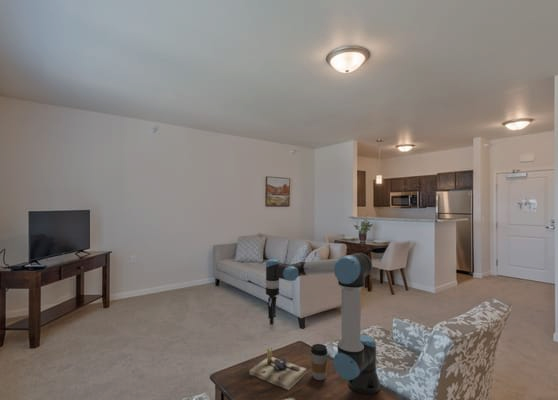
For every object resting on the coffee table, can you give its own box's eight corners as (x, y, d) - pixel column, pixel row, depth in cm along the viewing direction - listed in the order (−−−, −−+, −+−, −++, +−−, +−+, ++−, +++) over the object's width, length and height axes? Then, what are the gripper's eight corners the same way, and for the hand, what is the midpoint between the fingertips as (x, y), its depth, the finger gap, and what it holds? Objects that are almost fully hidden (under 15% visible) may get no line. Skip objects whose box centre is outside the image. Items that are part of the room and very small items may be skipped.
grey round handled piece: (293, 366, 155) (294, 352, 155) (284, 374, 148) (285, 359, 148) (272, 358, 163) (272, 345, 163) (262, 365, 155) (262, 352, 155)
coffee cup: (326, 382, 145) (327, 351, 145) (310, 380, 147) (310, 350, 147) (327, 373, 153) (327, 344, 154) (311, 371, 155) (311, 342, 155)
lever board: (306, 372, 154) (306, 365, 154) (289, 390, 139) (289, 382, 139) (269, 359, 167) (269, 353, 167) (249, 374, 152) (249, 367, 152)
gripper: (268, 283, 173) (268, 324, 172) (263, 289, 160) (262, 333, 159) (281, 284, 171) (280, 325, 171) (276, 290, 158) (276, 334, 158)
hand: (271, 329), depth 165 cm, fingers closed
